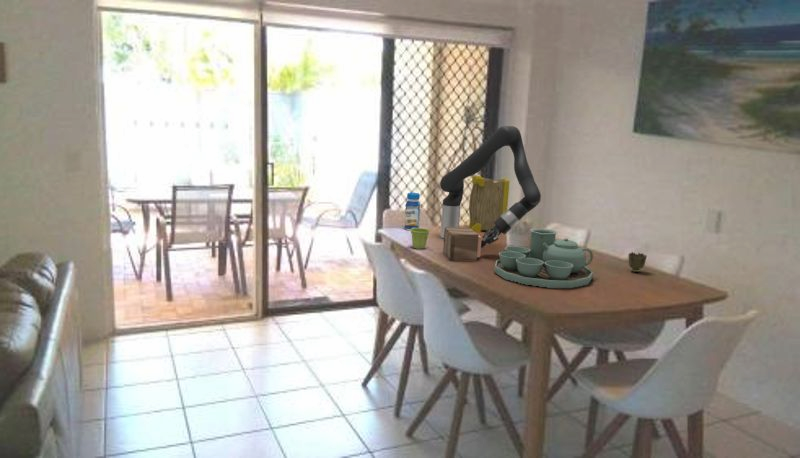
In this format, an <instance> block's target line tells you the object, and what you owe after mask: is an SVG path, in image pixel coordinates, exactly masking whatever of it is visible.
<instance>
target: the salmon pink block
mask: <svg viewBox="0 0 800 458" xmlns="http://www.w3.org/2000/svg"><path fill="white" fill-rule="evenodd" d="M478 235H479V234H478ZM482 237H483V236H481V235H479V236H478V250H477V258H481V250H482V249H481V241H482V239H483V238H482Z"/></svg>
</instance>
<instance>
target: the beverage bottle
mask: <svg viewBox="0 0 800 458" xmlns="http://www.w3.org/2000/svg"><path fill="white" fill-rule="evenodd" d="M406 199H407V201H406V202H405V209H404V226H403V227H404V230H406V231H410V229H412V228H420V218H421V217H420V216H421V204H420V201H419V200H420V193H418V192H408V193H407V194H406Z"/></svg>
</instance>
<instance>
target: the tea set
mask: <svg viewBox="0 0 800 458" xmlns="http://www.w3.org/2000/svg"><path fill="white" fill-rule="evenodd" d="M529 231H530V240H529V241H530V244H529V248H527V247H525V246H523V247H522V246H515V245H512V246H506V247H504V251H500V252H498V256H499V259H497V260H496V261H495V264H494V273H495V274H497V275H498V276H499V277H501V278H502V279H504V280H507V281H509V280H510V282H513V281H514V282H513V283H516V282H518V283H517V284H520V283H521V284H520V285H523V284H525V285H524V286H528V285H532V286H531V287H536V286H539V287H538V288H543V287H547V288H546V289H575V288H579V286H580V287H584V286H588V285H589V283H590V282H591V280H592V279H593V278H594V272H593V270H591V269H589V268H588V267H587V266H588V265H590V264H591V263H592V261H593V259H594V253H593V251H592V250H591V249H590V248H588V247H582V248H581V247H578V243H577V242H576V241H574V240H570V239H569V238H563V239H557V240H556V235H557V234H558V231H557V230H554V229H549V228H536V227H535V228H531V229H530V230H529ZM584 251H587V252H588V253H589V255H590V258H589V260H588V261H587V255H586V254H585V252H584ZM583 285H584V286H583ZM574 287H575V288H574Z"/></svg>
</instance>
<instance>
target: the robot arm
mask: <svg viewBox="0 0 800 458" xmlns="http://www.w3.org/2000/svg"><path fill="white" fill-rule="evenodd" d="M503 147H509V148H510V149H511V151H512V154H513V158H514V159H513V170H514V173H515V174H514V175H515V177H516V179H517V182H518V184H519V186H520V187H521V191H522V192H523V197H522V198H521V199H520V200H519V201H518V202H515V203H514V204H513V205H511V207H510V208H509V207H508V208H507V211H506V212H504V213H503V214H502V215H501V216H500V217H499V218H498V219H497V220H496V221H495V222H494V225H495V227H493V228H491V229H490V230H489V229H488V230H485V233H484V234H483V236H481V237H482V238H481V250H482V249H483V248H484V247H485V246H486V245H490V244H492V243H494V242H496V241H498V240H499V236H501V235H502V234H503V235H506V234H508V232H509V231H510V230H511V229H512V228H514V227H515V226H516V225H517V224H518V222H519V221H521V220H522V219H523V217H525V216H526V215H527V214H528V213H529V212H530V211H532V210H534V208H536V207H537V206H538V205H539V203H540V202H541V199H542V195H541V191H540V190H539V187H538V185H537V184H536V181H535V179H534V176H533V173H532V170H531V168H530V165H529V163H528V159H527V156H526V155H527V154H526V151H525V148H524V143H523V138H522V134H521V131H520V129H519V128H518V127H517V126H512V125H502V126H499V128H497V129H496V130H495V131H494V132H493V133H492V134H491V136H489V138H487V140H486V141H485V142H484V143H482V144H481V145H479V147H478V148H477V149H475V150H474V151H473V152H472V153H471V154H470V155H468V157H466V158H465V159H464V160H463V161H462V162H460V163H459V164H458V165H457V166H456V167H455V168H453V169H452V170H450V171H449V172H448V173H445V175H443V176H442V178H441V179H440V184H439V185H440V189H441V190H442V191H443V192H444V193H448V194H447V196H445V197H444V198H443V200H442V207H441V208H442V211H441V223H440V224H441V225H440V226H441V227H440V228H441V229H440V238H441V239H444V231H445V227H460V218H461V217H460V216H461V203H462V201H463V197H464V188H465V186H464V185H465V180H464V179H467V178H469V177H472V176H475V174H478V173H480V172H481V171H482V170H483V169H485V168H486V167H487V166H488V165H489V164H490V163H491V161H492V158H493V155H494V154H495V153H496V152H498V151H499V150H500V149H501V148H503Z"/></svg>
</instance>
